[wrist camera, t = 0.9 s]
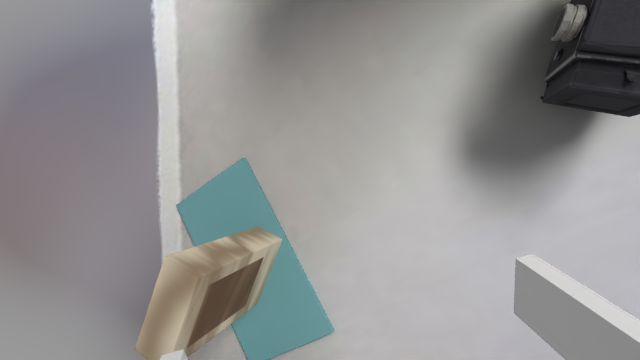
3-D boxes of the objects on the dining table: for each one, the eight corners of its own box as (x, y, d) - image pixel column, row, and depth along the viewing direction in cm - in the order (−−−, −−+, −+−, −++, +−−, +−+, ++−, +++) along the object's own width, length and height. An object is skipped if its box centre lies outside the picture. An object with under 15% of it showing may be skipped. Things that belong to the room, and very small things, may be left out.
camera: (548, -24, 32) (510, 116, 32) (611, -137, 21) (553, 73, 22) (681, -20, 29) (637, 137, 29) (834, -153, 18) (763, 97, 18)
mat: (179, 204, 48) (176, 205, 48) (245, 158, 44) (243, 157, 43) (253, 364, 44) (251, 366, 44) (334, 330, 40) (332, 332, 40)
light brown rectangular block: (235, 288, 44) (134, 349, 29) (258, 226, 43) (164, 256, 28) (258, 303, 43) (165, 374, 28) (282, 239, 42) (198, 278, 27)
